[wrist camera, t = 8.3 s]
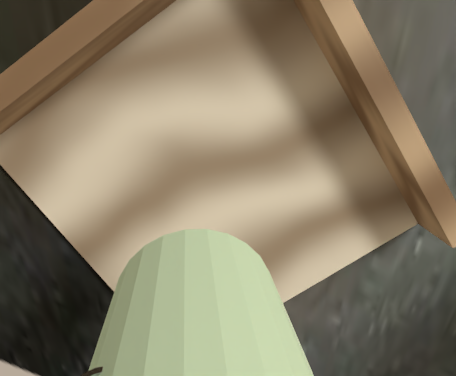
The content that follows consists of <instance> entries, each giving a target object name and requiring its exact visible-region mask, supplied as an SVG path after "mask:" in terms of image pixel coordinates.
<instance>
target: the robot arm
mask: <svg viewBox="0 0 456 376" xmlns="http://www.w3.org/2000/svg"><path fill="white" fill-rule="evenodd" d="M102 369H103V367H97V368H94V369H92V370H89V371H87V372H85V373H84V374H82V375H81V376H99V375H100V373H101V372H102Z"/></svg>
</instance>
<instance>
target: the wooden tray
mask: <svg viewBox="0 0 456 376" xmlns="http://www.w3.org/2000/svg"><path fill="white" fill-rule="evenodd" d="M0 165H1V166H2V167H3V168H4V169H5V171H6V172H7V173H8V174H9V175H10V176H11V177H12V178H13V180H14V181H15V182H16V183H17V184H18V185H19V186H20V187H21V188H22V190H23V191H24V192H25V193H26V194H27V195H28V196H29V197H30V198H31V200H32V201H33V202H34V203H35V204H36V205H37V206H38V207H39V209H40V210H41V211H42V212H43V213H44V214H45V215H46V216H47V217H48V219H49V220H50V221H51V222H52V223H53V224H54V225H55V226H56V228H57V229H58V230H59V231H60V232H61V233H62V234H63V235H64V236H65V238H66V239H67V240H68V241H69V242H70V243H71V244H72V245H73V247H74V248H75V249H76V250H77V251H78V252H79V253H80V254H81V255H82V257H83V258H84V259H85V260H86V261H87V262H88V263H89V264H90V266H91V267H92V268H93V269H94V270H95V271H96V272H97V273H98V274H99V276H100V277H101V278H102V279H103V280H104V281H105V282H106V283H107V285H108V286H109V287H110V288H111V289H112V290H113V291H114V292H115V289H116V286H117V282H118V279H119V277H120V275H121V273H122V272H123V270H124V268H125V267H126V265H127V263H128V261H129V260H130V259H131V258H132V257H133V256H134V255H135V254H136V253H137V252H138V251H139V250H140V249H141V248H142V247H144V246H145V245H147V244H148V243H150V242H152V241H154V240H156V239H157V238H159V237H161V236H163V235H166V234H170V233H173V232H177V231H181V230H184V229H210V230H214V231H219V232H223V233H228V234H230V235H232V236H234V237H236V238H238V239H240V240H241V241H243V242H245V243H247V244H248V245H249V246H250V247H251V248H252V249H253V250H254V251H255V252H256V253H258V254H259V255H260V257H261V258H262V260H263V262H264V263H265V265H266V267H267V268H268V270H269V272H270V274H271V277H272V279H273V281H274V284H275V286H276V288H277V291H278V293H279V295H280V298H281V300H282V302H283V303H284V302H285V301H287V300H289V299H291V298H292V297H294V296H296V295H297V294H299V293H301V292H302V291H304V290H306V289H308V288H309V287H311V286H313V285H314V284H316V283H318V282H319V281H321V280H323V279H325V278H326V277H328V276H330V275H331V274H333V273H335V272H336V271H338V270H340V269H342V268H343V267H345V266H347V265H348V264H350V263H352V262H354V261H355V260H357V259H359V258H360V257H362V256H364V255H365V254H367V253H369V252H371V251H372V250H374V249H376V248H377V247H379V246H381V245H382V244H384V243H386V242H388V241H389V240H391V239H393V238H394V237H396V236H398V235H400V234H401V233H403V232H405V231H406V230H408V229H410V228H411V227H413V226H415V225H417V224H419V225H421V226H422V227H424V228H425V229H427V230H428V231H429V232H431V233H432V234H434V235H435V236H436V237H438V238H439V239H441V240H442V241H444V242H445V243H446V244H448V245H449V246H451V247H452V248H454V247H456V201H455V199H454V197H453V195H452V193H451V192H450V190H449V188H448V186H447V184H446V182H445V180H444V178H443V176H442V174H441V172H440V170H439V168H438V166H437V164H436V162H435V160H434V158H433V156H432V154H431V153H430V151H429V149H428V147H427V145H426V143H425V141H424V139H423V137H422V135H421V133H420V131H419V129H418V127H417V125H416V123H415V121H414V119H413V117H412V115H411V114H410V112H409V110H408V108H407V106H406V104H405V102H404V100H403V98H402V96H401V94H400V92H399V90H398V88H397V86H396V84H395V82H394V80H393V78H392V76H391V75H390V73H389V71H388V69H387V67H386V65H385V63H384V61H383V59H382V57H381V55H380V53H379V51H378V49H377V47H376V45H375V43H374V41H373V39H372V37H371V36H370V34H369V32H368V30H367V28H366V26H365V24H364V22H363V20H362V18H361V16H360V14H359V12H358V10H357V8H356V6H355V4H354V2H353V0H93V1H92V2H91V3H89V4H88V5H87V6H86V7H84V8H83V9H82V10H80V11H79V12H78V13H77V14H75V15H74V16H73V17H72V18H70V19H69V20H68V21H67V22H65V23H64V24H63V25H62V26H60V27H59V28H58V29H57V30H55V31H54V32H53V33H52V34H50V35H49V36H48V37H47V38H45V39H44V40H43V41H42V42H40V43H39V44H38V45H37V46H35V47H34V48H33V49H32V50H30V51H29V52H28V53H27V54H25V55H24V56H23V57H22V58H20V59H19V60H18V61H16V62H15V63H14V64H13V65H11V66H10V67H9V68H8V69H6V70H5V71H4V72H3V73H1V74H0Z"/></svg>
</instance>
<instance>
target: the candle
mask: <svg viewBox="0 0 456 376" xmlns="http://www.w3.org/2000/svg"><path fill="white" fill-rule="evenodd" d="M97 367H103V369H102V372H101V373H100V375H99V376H314V375H313V373H312V370H311V368H310V366H309V363H308V361H307V359H306V356H305V354H304V352H303V349H302V347H301V345H300V342H299V340H298V338H297V335H296V333H295V330H294V328H293V326H292V323H291V321H290V319H289V316H288V314H287V312H286V309H285V307H284V305H283V302H282V300H281V298H280V295H279V293H278V291H277V288H276V286H275V284H274V281H273V279H272V277H271V274H270V272H269V270H268V268H267V267H266V265H265V263H264V262H263V260H262V258H261V257H260V255H259V254H258V253H256V252H255V251H254V250H253V249H252V248H251V247H250V246H249V245H248V244H247V243H245V242H243V241H241V240H240V239H238V238H236V237H234V236H232V235H230V234H228V233H223V232H219V231H214V230H210V229H184V230H181V231H177V232H173V233H170V234H166V235H163V236H161V237H159V238H157V239H156V240H154V241H152V242H150V243H148V244H147V245H145V246H144V247H142V248H141V249H140V250H139V251H138V252H137V253H136V254H135V255H134V256H133V257H132V258H131V259H130V260H129V261H128V263H127V265H126V267H125V268H124V270H123V272H122V273H121V275H120V277H119V279H118V282H117V286H116V289H115V292H114V295H113V298H112V301H111V304H110V307H109V310H108V313H107V316H106V319H105V322H104V325H103V328H102V331H101V334H100V337H99V340H98V343H97V346H96V349H95V352H94V355H93V358H92V361H91V364H90V367H89V370H92V369H94V368H97ZM89 370H88V371H89Z"/></svg>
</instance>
